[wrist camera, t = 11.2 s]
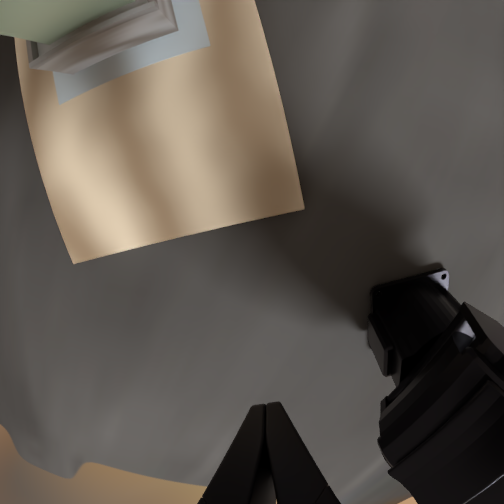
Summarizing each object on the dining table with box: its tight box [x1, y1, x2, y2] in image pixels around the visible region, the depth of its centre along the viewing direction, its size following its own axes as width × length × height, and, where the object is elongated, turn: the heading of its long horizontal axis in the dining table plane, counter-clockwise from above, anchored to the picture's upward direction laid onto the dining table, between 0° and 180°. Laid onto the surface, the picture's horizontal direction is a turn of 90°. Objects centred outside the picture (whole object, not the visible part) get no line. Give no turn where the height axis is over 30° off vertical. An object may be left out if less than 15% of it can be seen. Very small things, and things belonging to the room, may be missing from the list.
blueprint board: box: [15, 0, 305, 264], centre depth 14 cm, size 16×20×6 cm
